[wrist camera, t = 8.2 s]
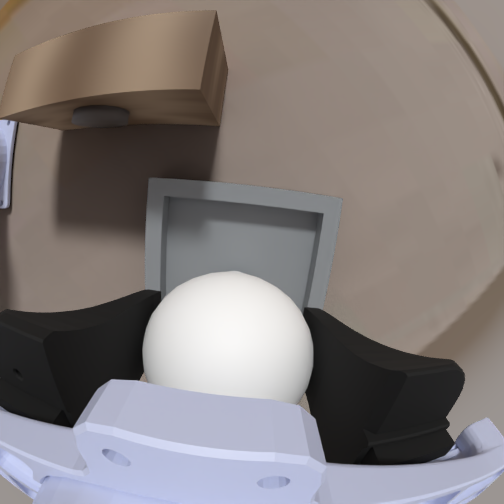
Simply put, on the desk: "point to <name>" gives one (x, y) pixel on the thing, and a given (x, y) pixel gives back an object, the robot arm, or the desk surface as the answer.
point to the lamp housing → (122, 75)
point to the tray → (240, 236)
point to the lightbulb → (229, 339)
